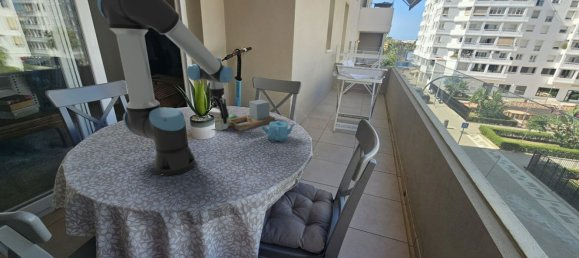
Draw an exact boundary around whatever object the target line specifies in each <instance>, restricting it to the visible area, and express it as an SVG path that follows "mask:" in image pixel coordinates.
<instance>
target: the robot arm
mask: <svg viewBox="0 0 579 258" xmlns="http://www.w3.org/2000/svg"><path fill="white" fill-rule="evenodd" d="M97 8H98V11H99V12H100V14H101V16H102V17H103V18H105V20H107V23H108V28H109V31H111V32H112V33H114V34H115V35H116V36H115V37H116V41H117V45H118V46H117V47H118V50H119V56H120V60H121V65H122V70H123V75H124V79H125V85H126V89H127V94H128V99H129V101H128V102H127V103H126V105H125V107H126V110H125V112H124V113H123V116H122V122H123V126H124V127H125V128H126V130H128V131H129V132H131V134H134V135H136V136H139V137H143V138H147V139H150V140H153V142H154V147H155V158H154V163H153V168H154V172H155V171H156V172H157V173H159V174H158V175H160V174H163V175H162V176H164V175H172V176H175V175H174V174H178V175H180V174H179V173H181V174H184V173H186V171H187V172H189V171H190V170H191V169H193V168H194V167H195V166H196V158H195V155H194V153H193V152H192V149H191V148H190V146H189V141H188V131H187V125H186V124H187V123H186V119H185V115H184V113H183V111H182V110H180V109H178V108H175V107H161V104H160V103H161V102H159V101H158V100H157V99H155V92H154V86H153V81H152V75H151V74H152V73H151V68H150V63H149V56H148V51H147V44H146V37H145V35H146V34H147V32H149V29H148V27H150V28H152V29H153V30H154V31H156V32H157V33H158V34H159V35H165V36H166V38H168V39H169V40H170V41H171V42H173V44H175V46H177V48H179V49H180V50H181V51H182V52H183V53H185V55H187V56H188V57H189V59H191V60H192V61H193V62H195V63H193V64H190V65H188V66H187V68H186V73H187V76H188V78H189V79H190V80H191V81H201V80H202V81H208V84H209V83H210V87H209V89H210V90H209V98H210V99H209V102H210V101H211V105H212V103H213V102H214V101H215V103H214V105H213V107H212V108H214V107H219V110H220V112H221V116H222V118H221V120H222V129H223V130H226V129H228V127H227V118H228V117H229V115H230V114H229V115H228V111H227V108H228V107H227V104H226V103H227V102H226V100H227V99H226V98H223V96H224V95H225V88H224V85H225V84H230V83H231V82H233V79H234V70H233V69H232V68H231V67H230V66H227V65H224V64H223V63H222V59H221V58H220V57H215V55H214V54H213V53H212V52H211V51H210V50H209V49H208V48H207V47H206V46H205V45H204V43H203V42H202V41H201V40H200V39H198V37H197V36H196V35H195V34H194V33H193V32H192V31H191V30H190V29H189V28H188V26H187V25H186V24H184V23H183V21H181V20H180V19H181V18H180V14H179V13H178V12H177V11H176V10H175V9H174V8H173V6H171V5H170V4H169V3H168V1H166V0H97ZM194 165H195V166H194ZM156 172H155V173H156ZM183 172H184V173H183ZM157 173H156V174H157Z"/></svg>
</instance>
